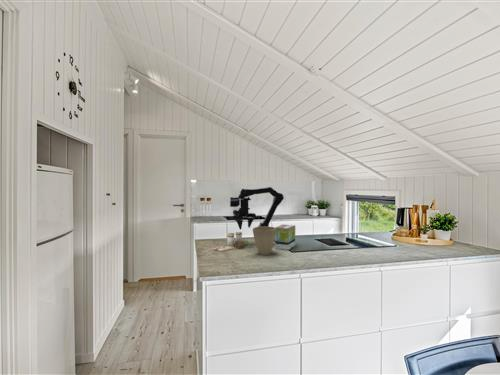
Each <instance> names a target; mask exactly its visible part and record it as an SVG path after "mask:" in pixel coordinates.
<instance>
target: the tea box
mask: <svg viewBox="0 0 500 375" xmlns="http://www.w3.org/2000/svg"><path fill="white" fill-rule="evenodd" d="M275 228H276V233H275V240H274V247H275V249H276V250H285V251H289V250H291V249H292V248H294V247H295V246H296V225H295V224H294V225H293V224H280V225H278V226H276V227H275Z"/></svg>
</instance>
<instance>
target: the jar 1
mask: <svg viewBox="0 0 500 375" xmlns="http://www.w3.org/2000/svg"><path fill="white" fill-rule="evenodd" d="M226 238H227V240H226V241H227V245H226V246H231V247H235V234H234V235H233V234H229V235H228V234H227V235H226Z"/></svg>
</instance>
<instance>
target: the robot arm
mask: <svg viewBox="0 0 500 375" xmlns="http://www.w3.org/2000/svg"><path fill="white" fill-rule="evenodd" d="M261 194H270V195H271V196H272V197H273V199H272V204H271V206H270V208H269V210H268V212H267V213H266V216H265V218H264V220H263V221H260V222H259V225H258V226H257V227H270V223H271V220H272V218H273V216H274V214H275V212H276V210H277V208H278V207H279V205H280V204H281V203H282V202H283V200H284V198H285V197H284V195H283V194H282V193H280V192H278V191H276V190H275V189H274V188H273V187H271V186H267V187H263V188H262V187H261V188H254V189H249V188H242V189H241V190H240V191H239V194H238V196H237V197H233V196H231V197H229V199H230V202H229V207H231V208H237V207H239V208H238V210H237V209H233V211H232V220H233V221H235V222H236V223H237V226H238V228H239V230H242V226H243V221H244V220H243V219H245V218H246V219H247V227H248V228H249V229H250V228H251V226H252V223H253V221H254V220H255V219H256V217H257V214H256V213H254V212H249V210H251V208H250V207H249V201H251V200H252V199H251V198H250V197H251V196H254V195H261Z"/></svg>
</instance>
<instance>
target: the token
mask: <svg viewBox="0 0 500 375" xmlns="http://www.w3.org/2000/svg"><path fill="white" fill-rule="evenodd" d="M242 240H243V239H242ZM242 240H238V241H236V240H234V247H235V249H237V250H243V249H245V246H246V245H245V242H244V241H242Z"/></svg>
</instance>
